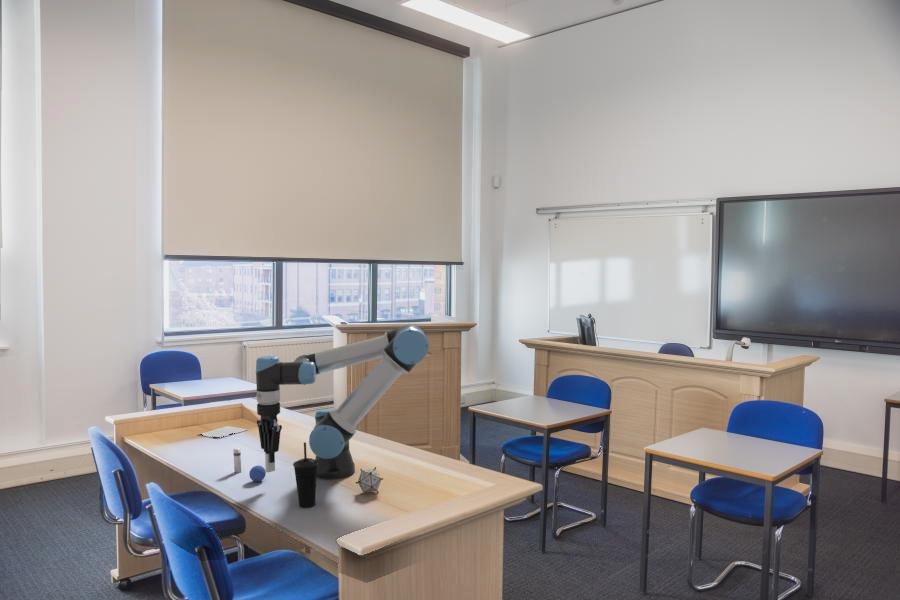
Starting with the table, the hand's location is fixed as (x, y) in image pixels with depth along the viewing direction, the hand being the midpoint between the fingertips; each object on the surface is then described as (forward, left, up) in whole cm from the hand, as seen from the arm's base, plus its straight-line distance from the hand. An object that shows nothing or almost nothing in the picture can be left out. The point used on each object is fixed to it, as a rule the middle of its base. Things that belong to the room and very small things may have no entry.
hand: (270, 471), depth 226 cm
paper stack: (+73, -32, -7) cm, 80 cm away
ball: (+9, -2, -3) cm, 10 cm away
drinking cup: (-23, +4, -6) cm, 24 cm away
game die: (-31, -15, -6) cm, 35 cm away
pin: (+24, -5, -6) cm, 25 cm away
